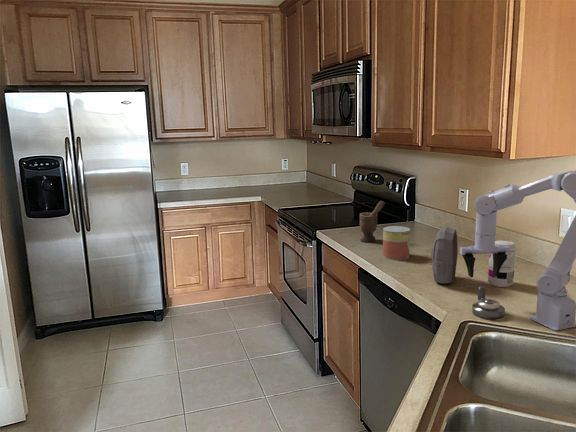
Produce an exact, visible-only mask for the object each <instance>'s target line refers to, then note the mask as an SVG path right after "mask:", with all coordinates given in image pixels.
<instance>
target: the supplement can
mask: <svg viewBox="0 0 576 432" xmlns="http://www.w3.org/2000/svg"><path fill="white" fill-rule="evenodd" d="M495 246H508V247H509V248H510V249H509V254H506V253H505V254H506V255H507V259H506V260H505V261H504V263H503V265H502V266H501V269H500V271H499V274H498V277H496V276H494V275H493V254H492V253H488V255H489V256H488V272H487V275H488V276H487V282H488V283H489V284H490V285H491V286H494V287H498V288H508V287H511V286H512V285H514V278H515V264H516V263H515V262H516V261H515V260H516V250H517V249H516V245H515V243H514V242H513V241H511V240H505V239H495Z"/></svg>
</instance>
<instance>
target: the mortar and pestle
mask: <svg viewBox="0 0 576 432" xmlns="http://www.w3.org/2000/svg"><path fill="white" fill-rule="evenodd" d="M385 204H386V203H385V201H383V200H380V201H379V202H378V203H377V204H376V206H375V208H374V210H373V211H372V212H361V213H359V227H360V230H361V232H362V233H363V234H362V235H361V237H360V242H363V243H371V242H376V240H377V239H376V237H375V236H374V232H375V231H376V230H377V226H378V219H379V218H378V215H379V214H378V213H379V212H380V211H381V210H382V208H383V207H384V206H385Z"/></svg>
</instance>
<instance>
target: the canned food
mask: <svg viewBox="0 0 576 432" xmlns="http://www.w3.org/2000/svg"><path fill="white" fill-rule="evenodd" d="M382 231H383V232H382V257H383V258H384V257H385V259H387V260H391V259H393V260H394V261H402V260H403V261H404V260H408V259H409V258H410V256H411V255H410V253H411V252H410V249H411V248H410V245H411V243H410V242H411V228H409V227H407V226H402V225H390V226H385V227H383V228H382ZM393 260H392V261H393Z"/></svg>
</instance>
